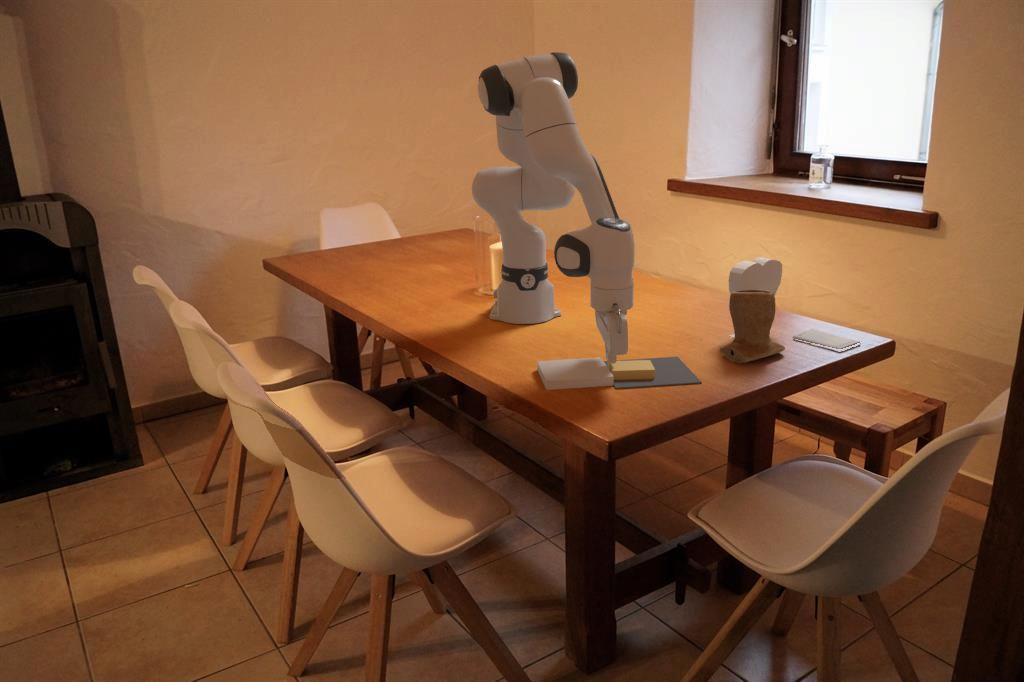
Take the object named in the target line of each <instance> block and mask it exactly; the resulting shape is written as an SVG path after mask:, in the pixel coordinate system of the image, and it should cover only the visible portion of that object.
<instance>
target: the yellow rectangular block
mask: <svg viewBox="0 0 1024 682" xmlns="http://www.w3.org/2000/svg"><path fill="white" fill-rule="evenodd" d="M608 369H609V370H610V372H611V373H612V375H613V376H614V380H628V379H655V368H654V366H653V365H652V363H651V361H650V360H633V361H616V363H614V364H609V363H608Z"/></svg>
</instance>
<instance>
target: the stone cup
mask: <svg viewBox="0 0 1024 682" xmlns="http://www.w3.org/2000/svg"><path fill="white" fill-rule="evenodd" d="M775 296H776V294H775V295H774V293H773V292H772V291H770V290H760V289H744V290H736V291H733V292H732V293H731V294H730V295H729V304H728V309H729V313H730V317H731V321H732V325H733V326H732V328H733V332H734V333H733V334H735V337H734V339H733V340H732V342H730V343H729V344H727V345H724V346H721V347H720V348H719V352H720V353H721V354H722V355H723V356H724V357H725V358H726V359H727V360H729V361H730V362H733V363H736V364H743V363H747V362H753V361H756V360H760V359H763V358H766V357H770V356H773V355H776V354H779V353H781V352H783V351H785V349H786V347H785V346H784V345H782V344H779V343H777V342H775V341H773V340H771V337H770V335H771V332H770V330H771V329H772V325H773V323H774V320H775V315H776V297H775Z"/></svg>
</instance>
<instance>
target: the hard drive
mask: <svg viewBox="0 0 1024 682" xmlns="http://www.w3.org/2000/svg"><path fill="white" fill-rule="evenodd" d="M793 338H794V339H798V340H802V341H806V342H810V343H815V344H820V345H823V346H828V347H832V348H836V349H843V348H846V347H849V346H852V345H855V344H857V343H860V342H861V341H858V340H855V339H852V338H848V337H844V336H841V335H836V334H832V333H828V332H825V331H821V330H817V329H814V328H812V329H809V330H805V331H802V332H800V333H798V334H795V335H792V339H793ZM860 344H861V343H860Z"/></svg>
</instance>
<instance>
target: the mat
mask: <svg viewBox="0 0 1024 682" xmlns="http://www.w3.org/2000/svg"><path fill="white" fill-rule="evenodd" d="M633 360H650V361H651V363H652V365H653V366H654V368H655V379H628V380H614V386H613V388H614V389H615V390H625V389H626V390H627V389H635V388H636V389H639V388H650V387H651V388H652V387H653V388H654V387H655V388H656V387H668V386H669V387H670V386H681V385H684V386H685V385H697V384H698V385H699V384H702V383H703V382H702V381H701V380H700V379H699V378H698V377H697V375H696V374H695V373H694V372H692V370H691V369H690V368H689V367H688V366H687V365H686V363H684V362H683V361H682V360H681V359H680V357H679V356H667V357H666V356H665V357H664V356H663V357H651V358H648V357H647V358H636V359H635V358H634V359H633V358H632V359H619V360H617V359H616V361H633ZM603 361H604V363H605V364H606V366H607V367H608V361H607V360H603Z"/></svg>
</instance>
